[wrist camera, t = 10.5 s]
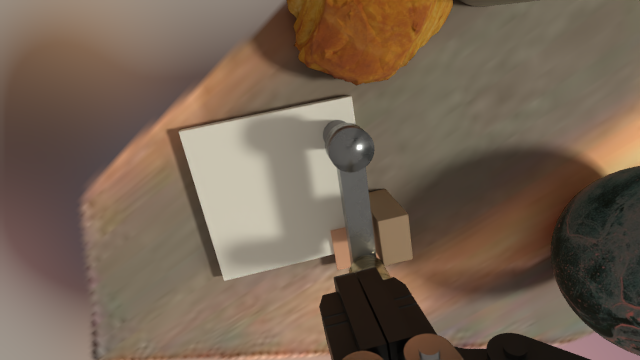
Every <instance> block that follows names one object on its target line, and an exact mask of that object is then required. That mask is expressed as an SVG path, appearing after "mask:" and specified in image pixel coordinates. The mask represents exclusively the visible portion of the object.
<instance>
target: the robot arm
mask: <svg viewBox="0 0 640 360" xmlns="http://www.w3.org/2000/svg"><path fill="white" fill-rule="evenodd" d="M460 1H462V2H463V3H465V4H468V5H471V6H477V7H485V6H494V5H503V4H513V3H521V2H530V1H538V0H460ZM334 284H335V289H336V292H334V293H330V294H326V295H323V296H322V300H321V303H320V306H319V307H320V312H321V316H322V321H323V326H324V330H325V335H326V340H327V344H328V348H329V352H330V355H331V359H332V360H590V359H587V358H584V357H582V356H579V355H576V354H573V353H571V352H568V351H565V350H562V349H560V348H557V347H554V346H551V345H548V344H546V343H543V342H540V341H537V340H534V339H532V338H529V337H526V336H523V335H520V334H515V333H504V334H499V335H496V336H495V337H493V338H492V339H491V340H490V341H489V342H488V344H487V349H464V348H458V347H455V346H453V345H452V344H451V343H450V342H449V341H448V340H447V339H445V338H444V337H442V336H439V335H437V334H436V332H435V331H434V329H433V327H432V326H431V324H430V323H429V321H428V320H427V318H426V316H425V315H424V313H423V312H422V310H421V309H420V307H419V305H418V304H417V302H416V301H415V299H414V298H413V296H412V295H411V293H410V291H409V290H408V288H407V286H406V285H405V284H404V283H402V282H401V281H399V280H398V279H396V278H394V277H393V278H389V279H385V280H383V279H382V277H381V275H380V273H379V272H378V270H377V268H376V267H372V268H368V269H364V270H360V271H356V272H355V273H354V272H352V273H348V274H344V275H340V276H336V277H334Z"/></svg>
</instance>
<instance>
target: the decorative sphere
mask: <svg viewBox="0 0 640 360" xmlns="http://www.w3.org/2000/svg"><path fill="white" fill-rule="evenodd" d="M551 263H552V268H553V272H554V276H555V279H556V282H557V284H558V287H559V289H560V291H561V293H562V295H563V296H564V298H565V299H566V301H567V303H568V304H569V306H570V307H571V308H572V310H573V311H574V312H575V313H576V314H577V315H578V316H579V317H580V318H581V319H582V321H583V322H584V323H585V324H587V325H588V326H589V327H590V328H591V329H593V330H594V331H595V332H596V333H598V334H599V335H600V336H602V337H603V338H605V339H606V340H608V341H610V342H611V343H613V344H615V345H617V346H619V347H620V348H623V349H625V350H627V351H629V352H631V353H634V354H637V355H639V356H640V166H637V167H632V168H628V169H624V170H620V171H617V172H614V173H612V174H609V175H607V176H605V177H603V178H600V179H598V180H597V181H595V182H593V183H591V184H590V185H588V186H587V187H586V188H584V189H583V190H582V191H580V192H579V193H578V194H577V195H576V196H575V197H574V198H573V199H572V200H571V201H570V202H569V203H568V205H567V206H566V207H565V209H564V210H563V212H562V213H561V215H560V217H559V219H558V221H557V223H556V226H555V229H554V232H553V236H552V242H551Z"/></svg>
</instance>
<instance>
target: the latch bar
mask: <svg viewBox="0 0 640 360" xmlns="http://www.w3.org/2000/svg"><path fill="white" fill-rule="evenodd" d="M325 150H326V153H327V155H328V157H329V158H330V160H331V161H332V163H333V164H334V165H335V166H336V167H337V174H338V181H339V188H340V194H341V201H342V208H343V215H344V221H345V228H346V235H347V241H348V248H349V255H350V262H351V267H350V269H349V273H352V272H354V273H355V272H356V271H360V270H364V269H368V268H372V267H376V268H377V270H378V272H379V273H380V275H381V277H382V279H383V280H385V279H389V278H391V277H390V275H389V273H388V272H387V270H386V268H385V267H384V265H383V263H382V262H381V260H380V259H379V258H377V257H376V249H375V241H374V233H373V224H372V216H371V208H370V200H369V191H368V183H367V175H366V166H367V165H368V164H369V163H370V161H371V160H372V158H373V155H374V143H373V140H372V138H371V137H370V135H369V134H368V133H366V132H365V131H364V130H363V129H362V128H360V127H359V126H358V125H356V124H353V123H341V124H338V125H336V126H335V127H333V128H332V129H331V130H330V131H329V133H328V134H327V136H326V139H325Z"/></svg>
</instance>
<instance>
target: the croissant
mask: <svg viewBox="0 0 640 360" xmlns="http://www.w3.org/2000/svg"><path fill="white" fill-rule="evenodd" d="M287 4H288V9H289V11H290V12H291V13H292V14H293V15H294V16H295V17H296V18H297V20H296V22H295V24H294V30H295V33H296V34H295V35H296V42H295V43H296V44H294V46H296V47H297V49H298V50H299V51H300V53H299V56H298V57H299V60H300V61H301V62H303V63H305V64H306V66H307V67H309V68H311V69H314V70H318V71H322V72H324V73H327V74H330V75H332V76H333V77H334V78H338V79H343V80H345V81H347V82H352V83H353V84H355V85H359V84H361V83H371V82H376V81H383V80H388V79H389V78H390V77H391V76H393V75H394V74H395V73H396V71H397V70H398V69H399V68H400V67H403V66H405V65H407V63H408V61H410V60H411V58H413V57H414V55H415V54H416V52H417V51H418V49H419V48H420V47H422V46H424V45H425V44H426V43H427V42H428V40H429V39H430V38H431V37H432V36H433V35H434V34H436V33H438V31H439V29H440V28H441V27H442V25H443V24H444V23H445V21H446V19H447V17H448V15H449V13H450V11H451V8H452V7H453V0H287Z"/></svg>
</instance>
